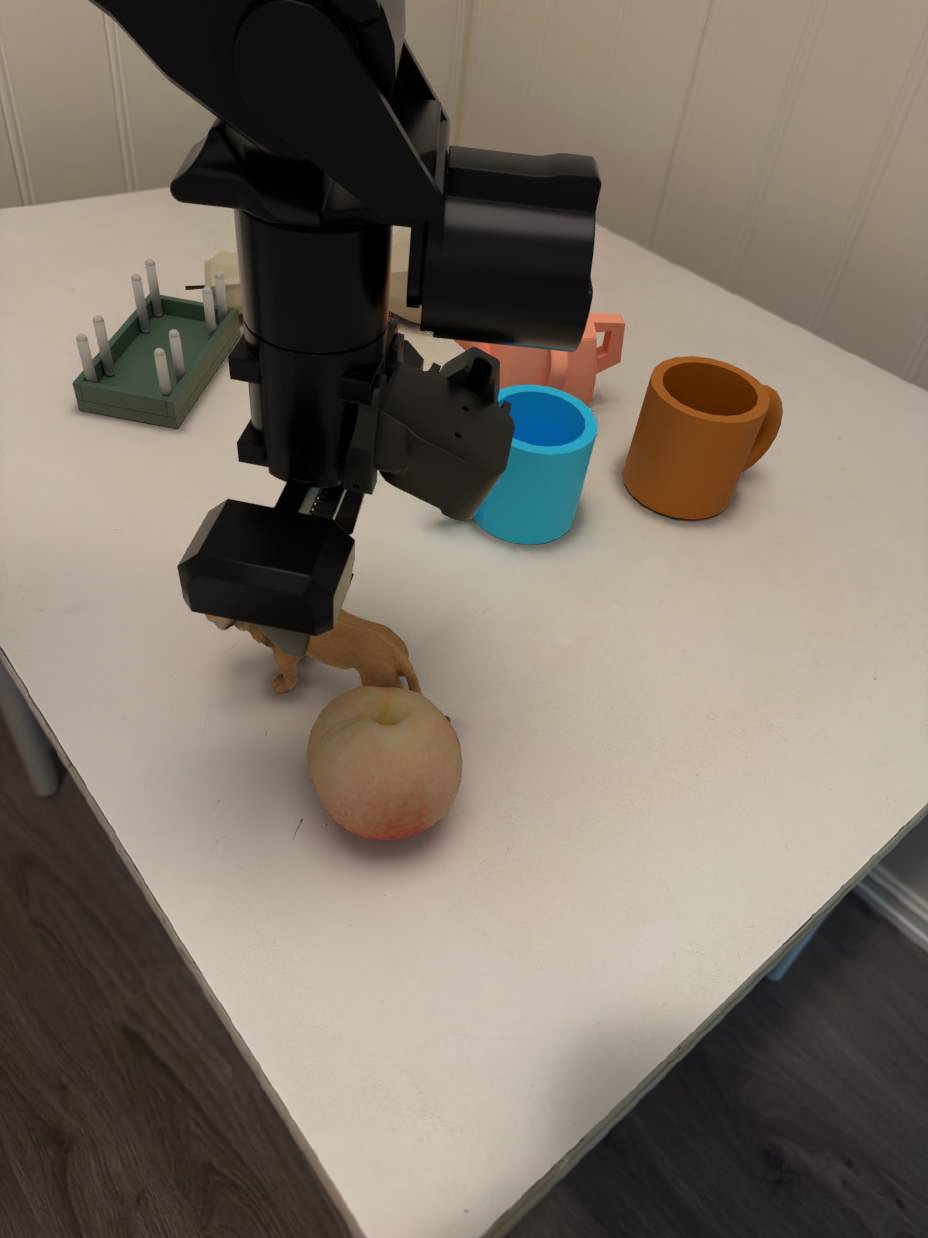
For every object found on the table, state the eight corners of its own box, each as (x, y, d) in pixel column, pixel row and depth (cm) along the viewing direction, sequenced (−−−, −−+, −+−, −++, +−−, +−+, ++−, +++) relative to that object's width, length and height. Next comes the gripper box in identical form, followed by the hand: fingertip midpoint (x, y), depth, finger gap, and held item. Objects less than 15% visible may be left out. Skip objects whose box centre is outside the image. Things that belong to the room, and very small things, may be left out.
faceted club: (469, 332, 81) (191, 348, 77) (451, 309, 88) (194, 323, 84) (470, 228, 77) (173, 239, 72) (450, 213, 84) (178, 223, 79)
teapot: (434, 397, 76) (443, 291, 68) (519, 349, 82) (536, 247, 75) (540, 460, 71) (562, 353, 64) (621, 403, 78) (649, 301, 71)
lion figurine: (203, 688, 53) (184, 583, 46) (243, 626, 56) (231, 520, 50) (436, 761, 51) (451, 663, 44) (462, 692, 54) (479, 592, 48)
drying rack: (78, 410, 69) (60, 339, 65) (154, 318, 79) (143, 251, 75) (177, 428, 69) (166, 358, 64) (240, 334, 79) (234, 267, 74)
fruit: (445, 737, 52) (458, 650, 46) (461, 862, 47) (478, 782, 41) (308, 742, 51) (304, 654, 45) (309, 872, 46) (304, 791, 40)
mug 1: (545, 466, 71) (564, 377, 65) (593, 532, 66) (619, 443, 60) (405, 492, 67) (411, 400, 61) (445, 564, 62) (457, 473, 56)
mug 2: (783, 520, 69) (830, 425, 63) (637, 521, 67) (670, 423, 61) (745, 450, 75) (784, 356, 68) (610, 449, 73) (637, 352, 67)
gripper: (479, 502, 28) (437, 766, 40) (541, 250, 41) (496, 506, 52) (144, 437, 29) (199, 717, 40) (308, 207, 41) (314, 470, 53)
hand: (321, 588), depth 46 cm, fingers open, 9 cm apart
